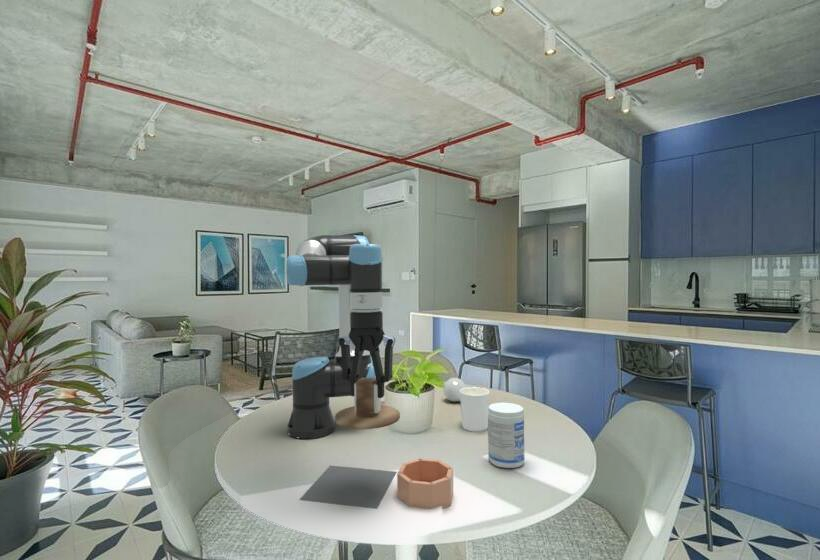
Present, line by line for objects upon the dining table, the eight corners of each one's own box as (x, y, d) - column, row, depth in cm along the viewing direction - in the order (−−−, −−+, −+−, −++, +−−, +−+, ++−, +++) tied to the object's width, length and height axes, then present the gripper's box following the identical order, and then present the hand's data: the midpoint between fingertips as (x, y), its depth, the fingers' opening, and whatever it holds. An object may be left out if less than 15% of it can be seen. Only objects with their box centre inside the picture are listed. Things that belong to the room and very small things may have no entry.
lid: (323, 426, 93) (323, 386, 93) (349, 406, 108) (349, 371, 107) (389, 431, 89) (388, 390, 89) (406, 409, 104) (406, 374, 104)
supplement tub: (523, 472, 108) (523, 414, 108) (486, 467, 111) (485, 411, 110) (525, 456, 117) (524, 403, 117) (490, 452, 120) (490, 400, 120)
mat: (299, 504, 94) (299, 499, 94) (330, 469, 110) (330, 465, 110) (377, 513, 90) (376, 508, 90) (396, 475, 106) (396, 471, 106)
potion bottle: (441, 402, 170) (479, 410, 167) (439, 394, 163) (478, 401, 159) (446, 381, 175) (482, 387, 171) (444, 372, 167) (482, 378, 164)
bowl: (393, 508, 92) (393, 480, 92) (406, 481, 103) (405, 457, 103) (448, 514, 89) (448, 486, 89) (455, 486, 101) (454, 461, 101)
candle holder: (488, 422, 144) (488, 387, 144) (491, 433, 134) (491, 395, 134) (459, 421, 145) (459, 386, 145) (460, 432, 135) (459, 395, 135)
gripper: (325, 311, 97) (327, 413, 97) (397, 312, 93) (398, 418, 93) (338, 309, 104) (340, 403, 104) (405, 309, 100) (407, 408, 100)
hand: (367, 410), depth 98 cm, fingers closed on lid, 4 cm apart
